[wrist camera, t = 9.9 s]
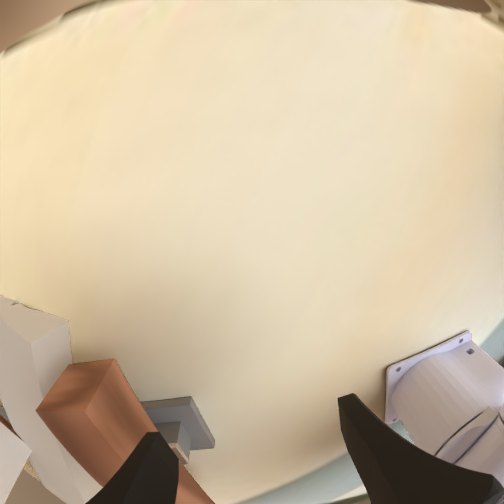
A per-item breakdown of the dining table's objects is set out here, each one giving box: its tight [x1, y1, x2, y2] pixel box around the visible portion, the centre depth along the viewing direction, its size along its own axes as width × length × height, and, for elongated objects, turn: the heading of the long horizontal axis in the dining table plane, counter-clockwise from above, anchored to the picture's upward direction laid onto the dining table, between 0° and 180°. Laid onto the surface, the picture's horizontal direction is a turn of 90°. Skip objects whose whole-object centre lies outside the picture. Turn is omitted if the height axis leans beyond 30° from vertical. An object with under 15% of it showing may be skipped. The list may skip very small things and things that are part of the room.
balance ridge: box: [140, 397, 215, 464], centre depth 21 cm, size 8×6×4 cm
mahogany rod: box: [35, 359, 215, 504], centre depth 16 cm, size 4×20×5 cm, turn 14°
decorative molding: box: [0, 295, 102, 504], centre depth 23 cm, size 34×5×10 cm
